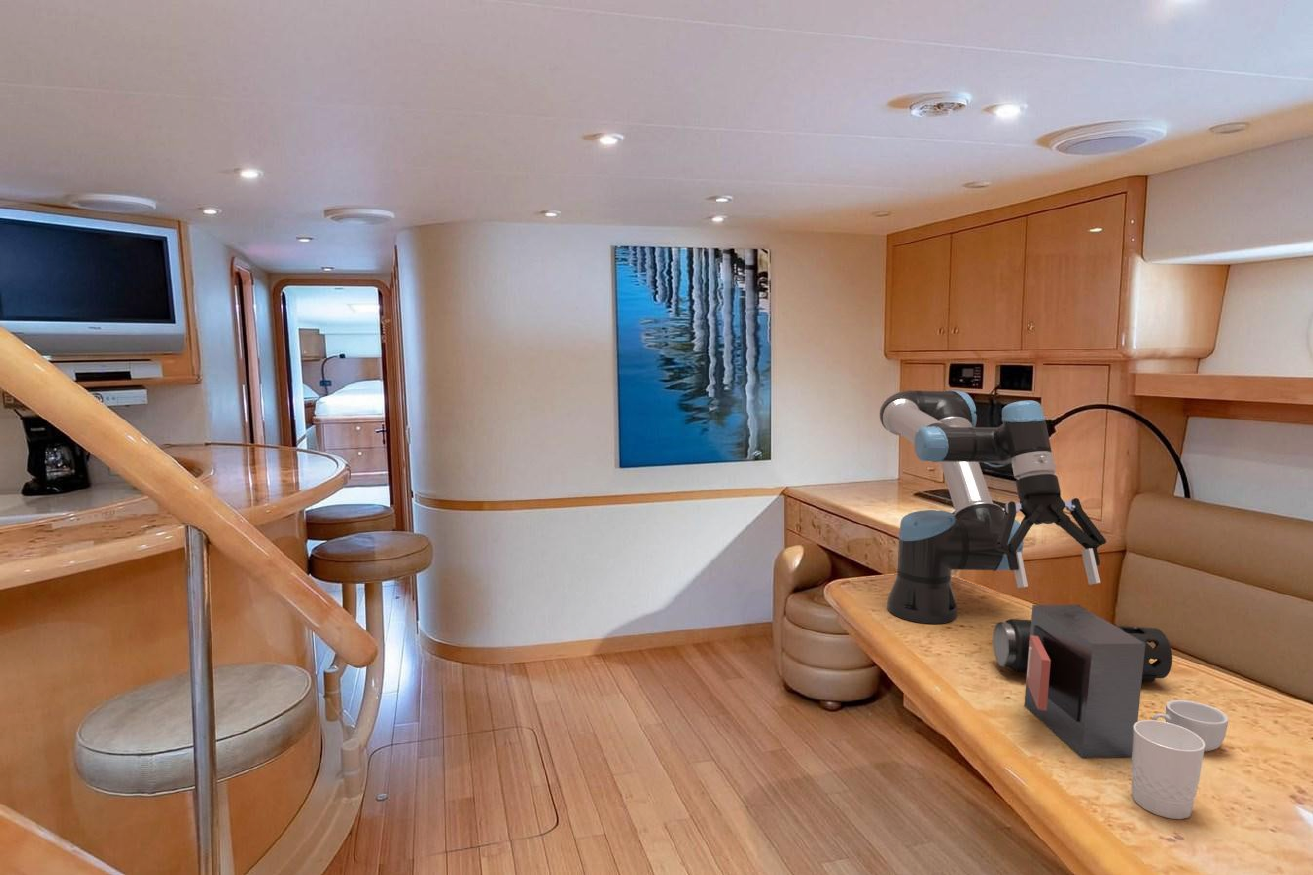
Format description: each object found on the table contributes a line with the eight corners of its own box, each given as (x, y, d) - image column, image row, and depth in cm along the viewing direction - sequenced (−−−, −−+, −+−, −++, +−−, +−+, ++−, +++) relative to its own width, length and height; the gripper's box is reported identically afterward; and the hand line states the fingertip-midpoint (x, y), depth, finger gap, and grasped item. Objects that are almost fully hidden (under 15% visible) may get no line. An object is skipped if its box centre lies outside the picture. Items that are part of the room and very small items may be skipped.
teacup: (1206, 733, 117) (1209, 701, 116) (1236, 759, 110) (1240, 725, 109) (1138, 727, 119) (1141, 696, 118) (1163, 753, 111) (1167, 720, 110)
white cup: (1113, 787, 102) (1119, 720, 101) (1165, 785, 103) (1172, 718, 102) (1156, 824, 94) (1163, 752, 93) (1212, 821, 95) (1221, 749, 94)
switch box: (1022, 705, 125) (1030, 605, 123) (1069, 705, 126) (1078, 604, 123) (1080, 758, 109) (1090, 643, 107) (1133, 757, 110) (1145, 643, 107)
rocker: (1024, 680, 121) (1028, 634, 120) (1034, 682, 121) (1038, 635, 120) (1036, 709, 112) (1040, 659, 111) (1046, 710, 112) (1050, 660, 110)
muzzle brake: (1170, 693, 131) (1176, 638, 129) (1006, 683, 134) (1010, 629, 132) (1141, 670, 140) (1146, 618, 139) (989, 661, 143) (993, 610, 142)
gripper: (980, 475, 141) (1001, 586, 135) (1109, 469, 141) (1136, 579, 135) (965, 485, 148) (984, 590, 142) (1088, 478, 148) (1113, 584, 142)
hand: (1058, 585), depth 138 cm, fingers open, 13 cm apart
